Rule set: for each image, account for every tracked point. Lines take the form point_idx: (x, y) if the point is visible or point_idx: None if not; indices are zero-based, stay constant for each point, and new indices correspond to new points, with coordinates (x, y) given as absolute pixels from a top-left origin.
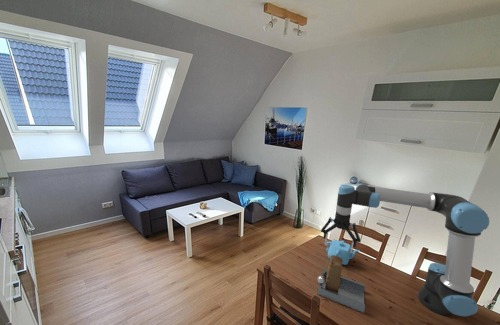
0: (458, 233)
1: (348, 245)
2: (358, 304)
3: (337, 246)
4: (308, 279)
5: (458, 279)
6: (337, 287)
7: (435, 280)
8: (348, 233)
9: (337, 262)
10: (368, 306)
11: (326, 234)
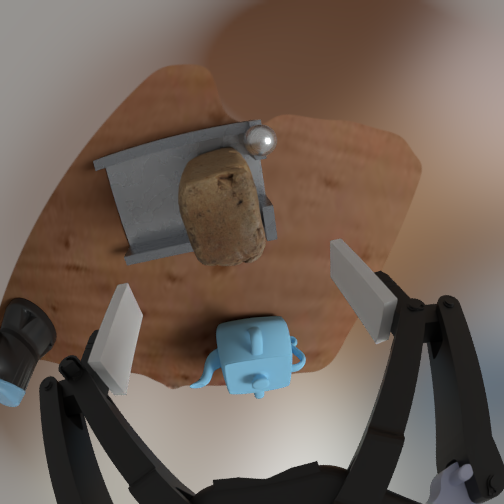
0: None
1: (234, 389)
2: (112, 154)
3: (266, 364)
4: (306, 168)
5: None
6: (190, 160)
7: None
8: (136, 446)
9: (207, 201)
10: (102, 197)
11: (391, 306)
